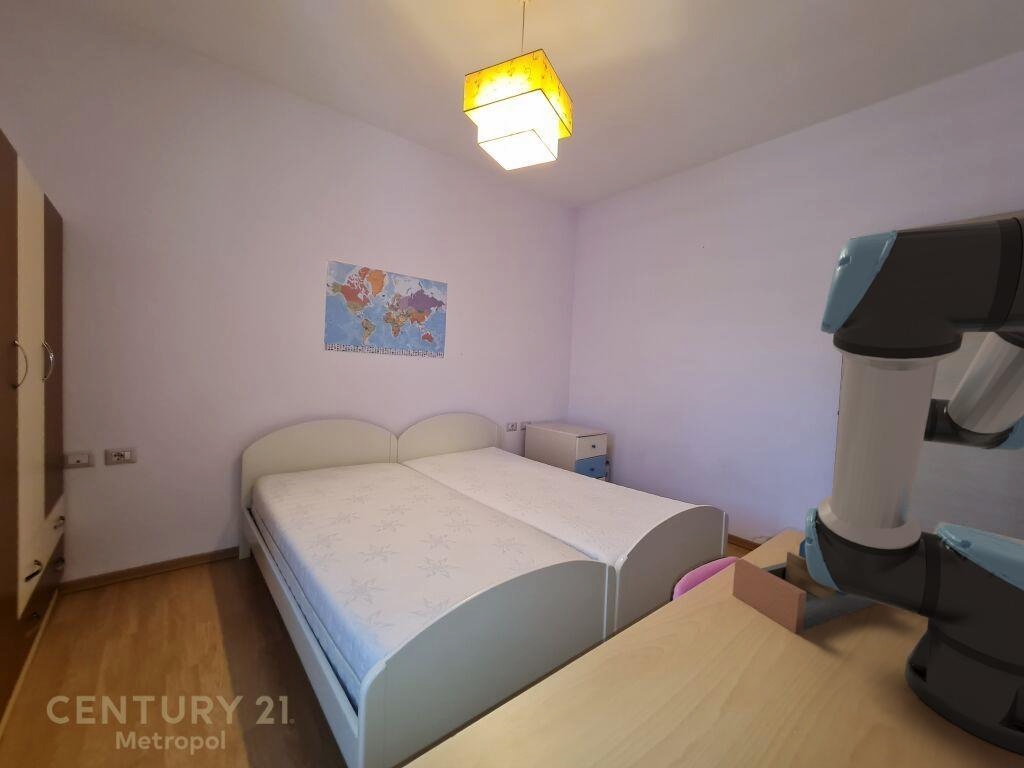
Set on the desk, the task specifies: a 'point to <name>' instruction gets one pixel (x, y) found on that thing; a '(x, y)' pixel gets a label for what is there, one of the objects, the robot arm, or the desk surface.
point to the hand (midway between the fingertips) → (851, 567)
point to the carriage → (804, 576)
